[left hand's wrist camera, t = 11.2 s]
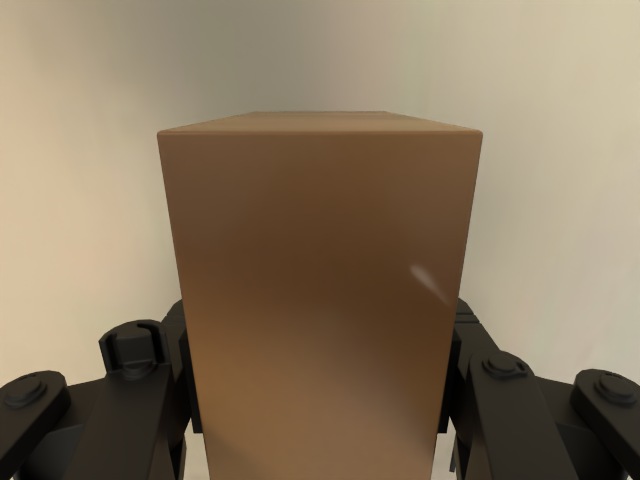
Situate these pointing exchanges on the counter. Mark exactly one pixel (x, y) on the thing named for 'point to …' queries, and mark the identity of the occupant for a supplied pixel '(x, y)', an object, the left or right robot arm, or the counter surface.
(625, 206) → the counter surface
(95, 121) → the counter surface
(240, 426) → the post
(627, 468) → the left robot arm
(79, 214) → the counter surface
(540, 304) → the counter surface
